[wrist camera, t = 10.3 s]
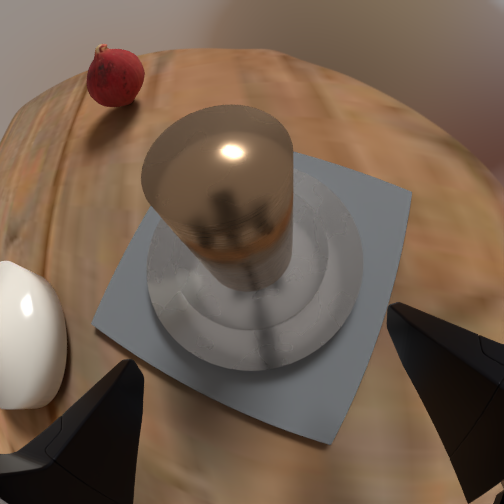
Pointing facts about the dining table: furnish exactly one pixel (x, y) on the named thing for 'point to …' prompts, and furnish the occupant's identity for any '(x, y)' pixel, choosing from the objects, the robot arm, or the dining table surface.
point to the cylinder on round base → (245, 242)
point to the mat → (297, 373)
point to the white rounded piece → (29, 339)
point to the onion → (114, 77)
